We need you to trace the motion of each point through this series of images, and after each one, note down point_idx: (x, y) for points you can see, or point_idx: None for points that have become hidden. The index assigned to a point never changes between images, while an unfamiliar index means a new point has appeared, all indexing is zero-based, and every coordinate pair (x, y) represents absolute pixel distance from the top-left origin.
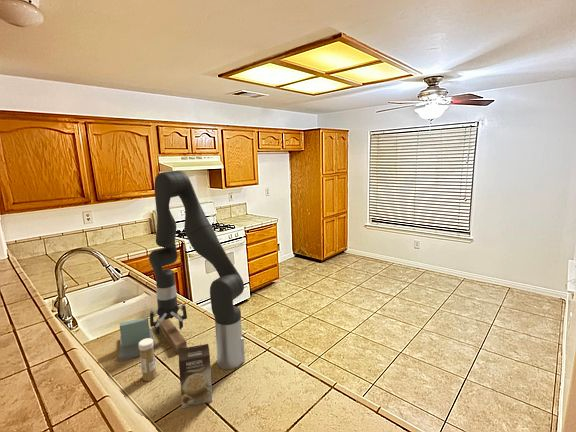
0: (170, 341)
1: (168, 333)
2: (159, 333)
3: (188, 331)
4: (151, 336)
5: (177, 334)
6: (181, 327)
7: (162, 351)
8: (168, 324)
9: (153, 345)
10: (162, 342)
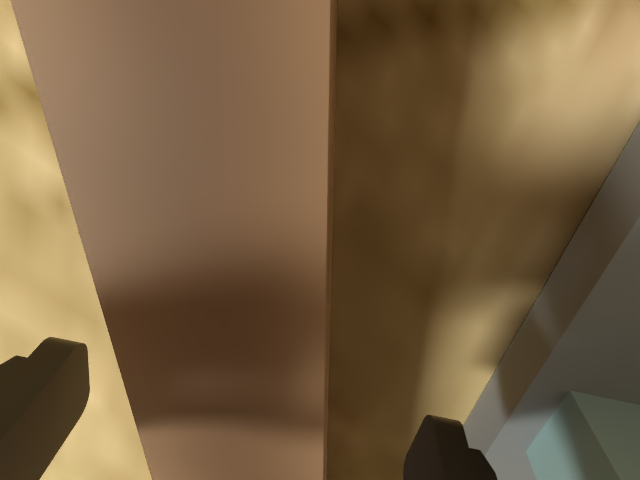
0: (331, 140)
1: (311, 327)
2: (440, 430)
3: (12, 289)
4: (506, 449)
5: (131, 154)
6: (33, 366)
7: (538, 9)
8: None
9: (606, 244)
10: (412, 273)
